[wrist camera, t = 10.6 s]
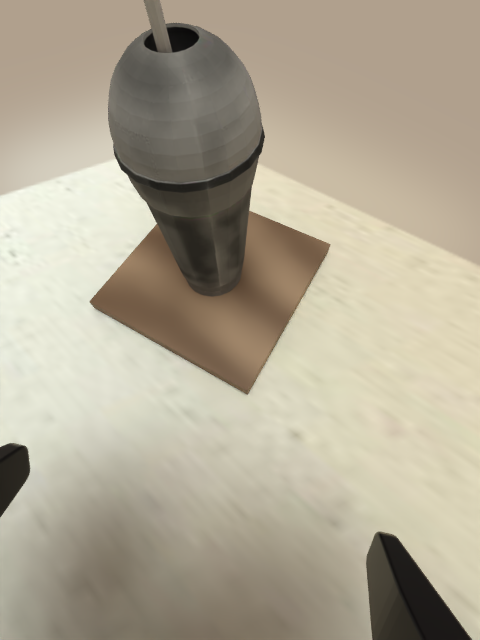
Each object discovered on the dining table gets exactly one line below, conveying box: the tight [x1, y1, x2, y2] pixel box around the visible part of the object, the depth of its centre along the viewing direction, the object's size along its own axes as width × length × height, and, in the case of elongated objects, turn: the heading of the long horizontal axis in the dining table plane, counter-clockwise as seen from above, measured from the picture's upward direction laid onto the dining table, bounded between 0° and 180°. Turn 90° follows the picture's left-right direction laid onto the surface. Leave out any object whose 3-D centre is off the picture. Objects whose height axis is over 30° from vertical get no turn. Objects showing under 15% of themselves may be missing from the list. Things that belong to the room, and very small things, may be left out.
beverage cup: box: [108, 0, 265, 296], centre depth 17 cm, size 7×7×20 cm
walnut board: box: [90, 211, 330, 394], centre depth 27 cm, size 14×14×1 cm
